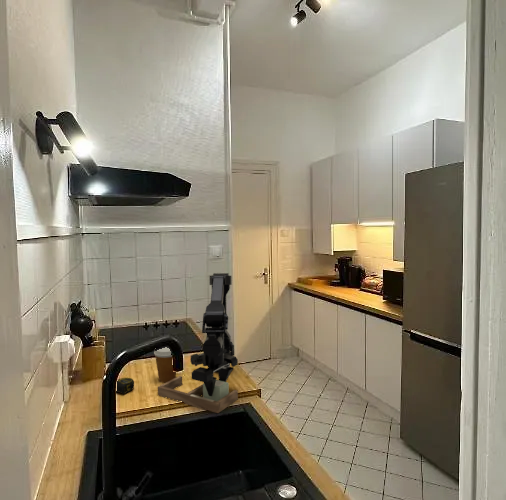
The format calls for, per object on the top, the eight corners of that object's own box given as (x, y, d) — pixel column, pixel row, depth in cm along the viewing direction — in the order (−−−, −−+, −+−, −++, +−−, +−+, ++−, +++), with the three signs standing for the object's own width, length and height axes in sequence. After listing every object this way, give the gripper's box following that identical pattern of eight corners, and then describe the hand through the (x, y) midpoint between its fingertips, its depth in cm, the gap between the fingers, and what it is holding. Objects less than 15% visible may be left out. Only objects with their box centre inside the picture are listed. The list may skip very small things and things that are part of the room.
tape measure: (109, 392, 131) (109, 381, 131) (126, 385, 137) (125, 375, 137) (122, 396, 128) (122, 386, 127) (138, 389, 133) (138, 379, 133)
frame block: (212, 394, 130) (211, 378, 129) (228, 398, 126) (228, 382, 126) (203, 399, 125) (202, 383, 125) (220, 404, 122) (219, 387, 121)
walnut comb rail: (179, 383, 138) (179, 375, 138) (237, 399, 125) (237, 390, 125) (157, 395, 128) (157, 386, 128) (218, 413, 115) (217, 403, 115)
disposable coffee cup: (173, 385, 137) (173, 352, 136) (150, 383, 139) (149, 351, 138) (183, 375, 146) (183, 345, 145) (161, 373, 148) (160, 343, 147)
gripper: (212, 336, 137) (213, 378, 138) (178, 350, 121) (179, 397, 122) (238, 341, 131) (238, 384, 132) (205, 356, 115) (206, 405, 116)
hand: (215, 392), depth 126 cm, fingers open, 6 cm apart
